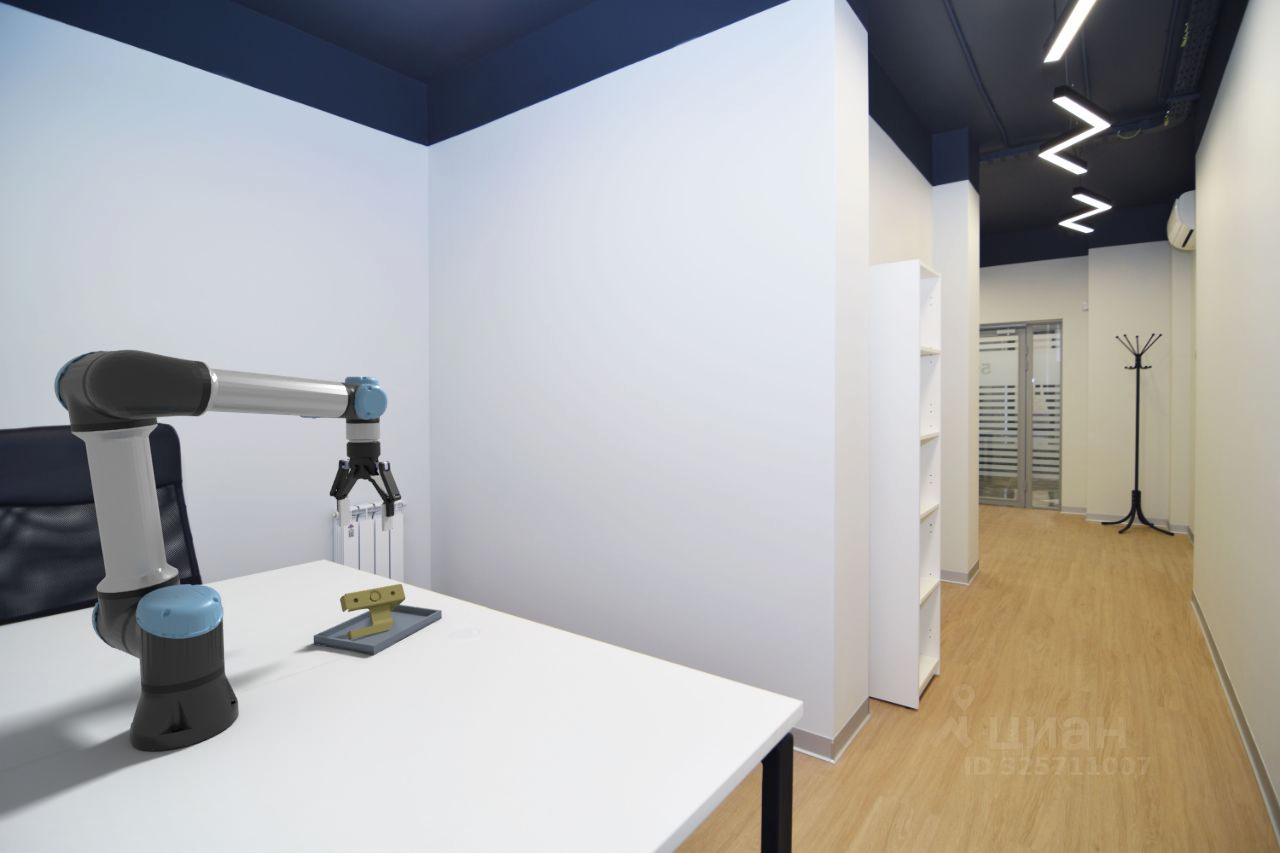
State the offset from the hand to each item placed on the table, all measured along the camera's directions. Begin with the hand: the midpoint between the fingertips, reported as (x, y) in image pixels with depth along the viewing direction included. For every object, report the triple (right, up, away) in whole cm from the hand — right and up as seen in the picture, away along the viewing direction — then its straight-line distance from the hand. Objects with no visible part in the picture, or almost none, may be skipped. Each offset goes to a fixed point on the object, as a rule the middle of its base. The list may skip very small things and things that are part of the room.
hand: (365, 527), depth 153 cm
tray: (+5, -24, -2) cm, 25 cm away
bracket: (0, -22, 0) cm, 22 cm away
